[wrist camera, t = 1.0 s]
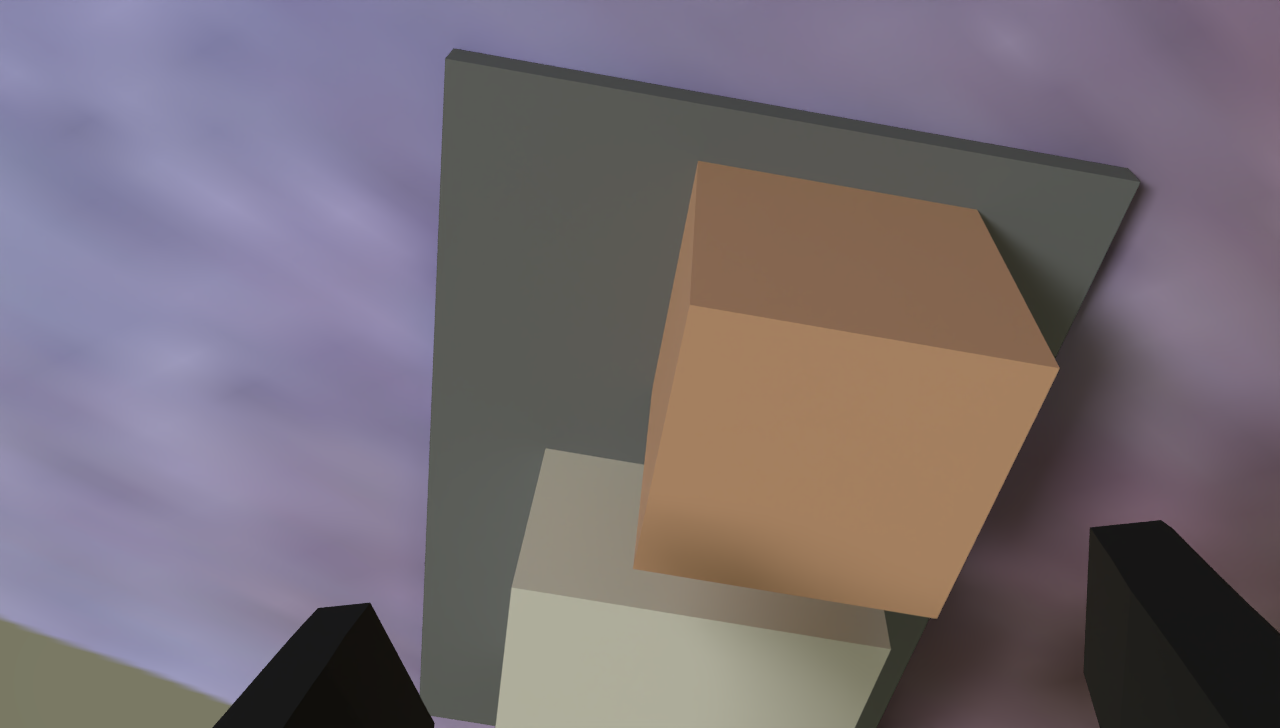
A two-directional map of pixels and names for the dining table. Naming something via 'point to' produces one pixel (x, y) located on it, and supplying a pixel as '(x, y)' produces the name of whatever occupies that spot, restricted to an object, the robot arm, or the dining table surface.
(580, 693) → the base block
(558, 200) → the mat
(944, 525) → the cube
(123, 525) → the dining table surface
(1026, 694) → the dining table surface
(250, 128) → the dining table surface
